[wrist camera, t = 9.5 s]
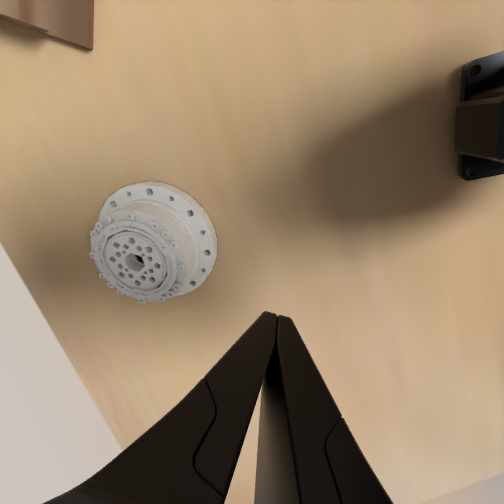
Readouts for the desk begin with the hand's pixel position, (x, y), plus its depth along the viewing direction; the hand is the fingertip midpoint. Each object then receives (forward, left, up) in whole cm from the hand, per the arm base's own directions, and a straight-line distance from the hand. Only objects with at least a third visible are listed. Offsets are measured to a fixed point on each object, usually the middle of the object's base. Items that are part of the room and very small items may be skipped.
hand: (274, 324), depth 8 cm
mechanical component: (+11, +1, -14) cm, 18 cm away
